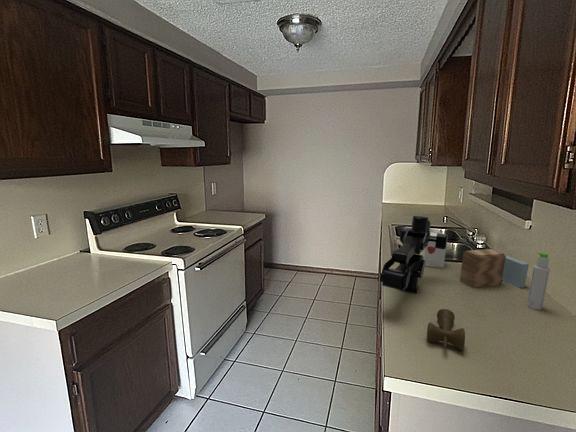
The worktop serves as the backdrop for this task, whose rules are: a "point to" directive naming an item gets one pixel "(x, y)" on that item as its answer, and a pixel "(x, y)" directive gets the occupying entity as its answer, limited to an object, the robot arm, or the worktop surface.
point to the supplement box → (434, 254)
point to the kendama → (446, 330)
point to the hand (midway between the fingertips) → (426, 236)
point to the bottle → (539, 282)
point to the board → (515, 272)
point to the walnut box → (482, 268)
